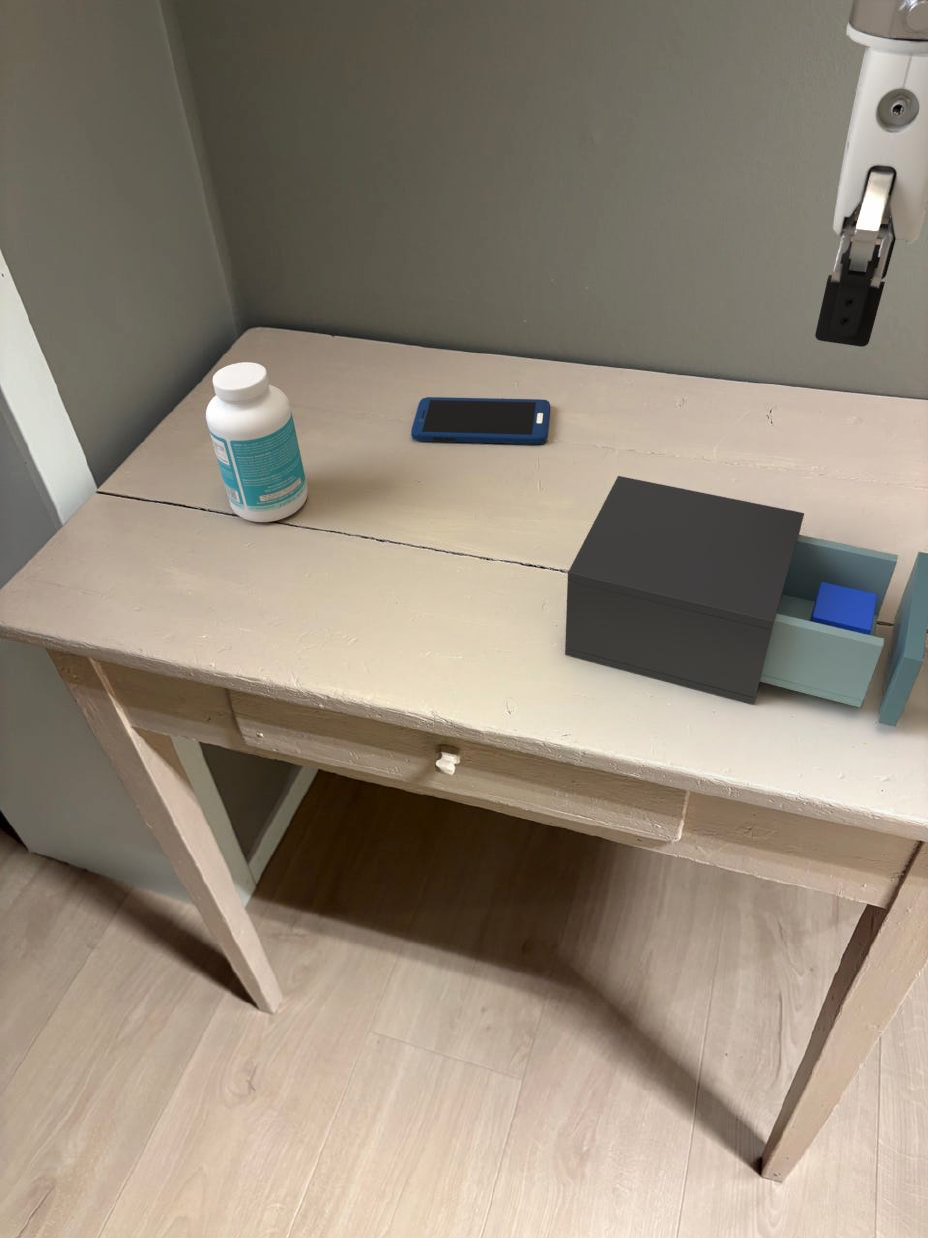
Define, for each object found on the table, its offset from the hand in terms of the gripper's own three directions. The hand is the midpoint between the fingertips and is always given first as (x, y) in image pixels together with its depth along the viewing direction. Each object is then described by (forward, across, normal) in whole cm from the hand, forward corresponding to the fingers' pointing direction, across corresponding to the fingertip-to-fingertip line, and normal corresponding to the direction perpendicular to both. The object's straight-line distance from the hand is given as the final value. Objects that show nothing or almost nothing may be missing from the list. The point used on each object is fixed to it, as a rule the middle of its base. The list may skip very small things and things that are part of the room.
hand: (851, 306), depth 63 cm
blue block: (+22, -8, -5) cm, 24 cm away
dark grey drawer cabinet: (+24, -8, +7) cm, 27 cm away
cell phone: (+24, +14, +33) cm, 43 cm away
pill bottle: (+24, -5, +47) cm, 53 cm away
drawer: (+23, -8, -6) cm, 25 cm away
